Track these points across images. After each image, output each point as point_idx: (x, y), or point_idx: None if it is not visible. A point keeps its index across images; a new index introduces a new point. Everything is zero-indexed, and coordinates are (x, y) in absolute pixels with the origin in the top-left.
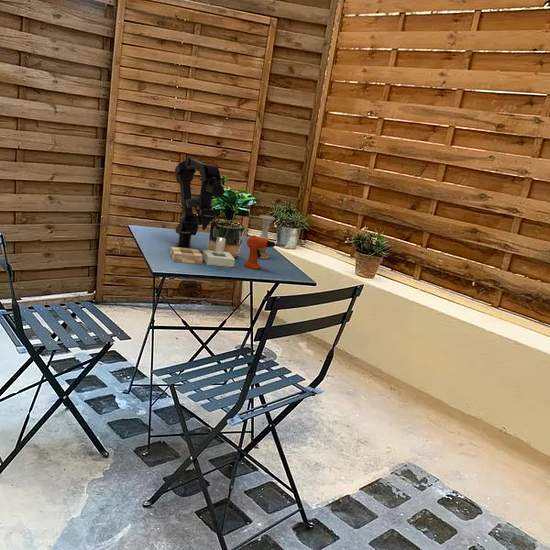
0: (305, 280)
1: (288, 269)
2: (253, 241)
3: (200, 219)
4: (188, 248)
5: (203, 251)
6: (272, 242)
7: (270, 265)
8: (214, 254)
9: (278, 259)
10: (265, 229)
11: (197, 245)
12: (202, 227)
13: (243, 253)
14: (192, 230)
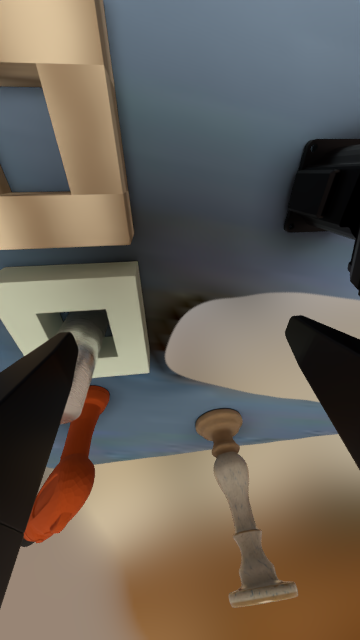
0: (47, 465)
1: (124, 451)
2: (44, 500)
3: (335, 373)
4: (116, 176)
5: (119, 274)
6: None
7: (141, 430)
8: (72, 319)
9: (206, 443)
10: (235, 525)
11: (342, 269)
12: (41, 345)
13: (244, 394)
14: (357, 248)
